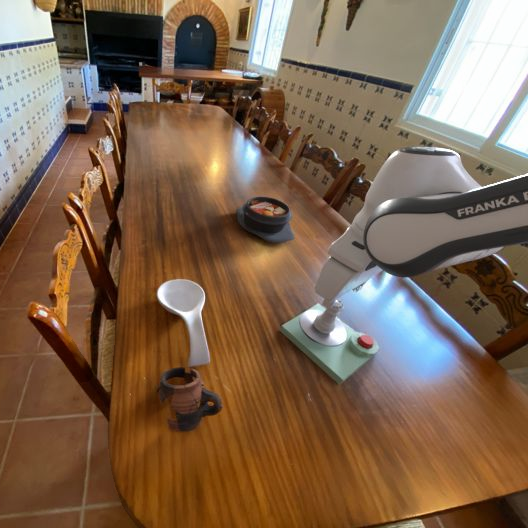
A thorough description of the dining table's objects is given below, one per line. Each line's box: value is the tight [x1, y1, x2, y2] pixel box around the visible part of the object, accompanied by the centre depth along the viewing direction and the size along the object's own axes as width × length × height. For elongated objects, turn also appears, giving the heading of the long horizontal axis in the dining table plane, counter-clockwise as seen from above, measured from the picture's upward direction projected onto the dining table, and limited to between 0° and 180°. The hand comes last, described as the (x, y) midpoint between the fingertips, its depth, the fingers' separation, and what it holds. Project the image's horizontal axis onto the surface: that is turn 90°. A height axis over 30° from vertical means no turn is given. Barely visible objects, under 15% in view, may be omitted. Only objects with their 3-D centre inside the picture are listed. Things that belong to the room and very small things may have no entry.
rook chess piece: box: [313, 298, 345, 333], centre depth 64 cm, size 4×4×8 cm
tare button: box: [358, 334, 374, 349], centre depth 64 cm, size 3×3×2 cm
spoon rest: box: [156, 278, 211, 368], centre depth 68 cm, size 24×12×7 cm, turn 14°
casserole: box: [235, 195, 296, 244], centre depth 104 cm, size 25×19×8 cm
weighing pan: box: [299, 310, 346, 347], centre depth 67 cm, size 10×10×1 cm
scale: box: [279, 303, 380, 386], centre depth 67 cm, size 16×14×4 cm
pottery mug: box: [156, 366, 224, 433], centre depth 54 cm, size 12×10×8 cm
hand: (341, 297), depth 60 cm, fingers open, 8 cm apart
